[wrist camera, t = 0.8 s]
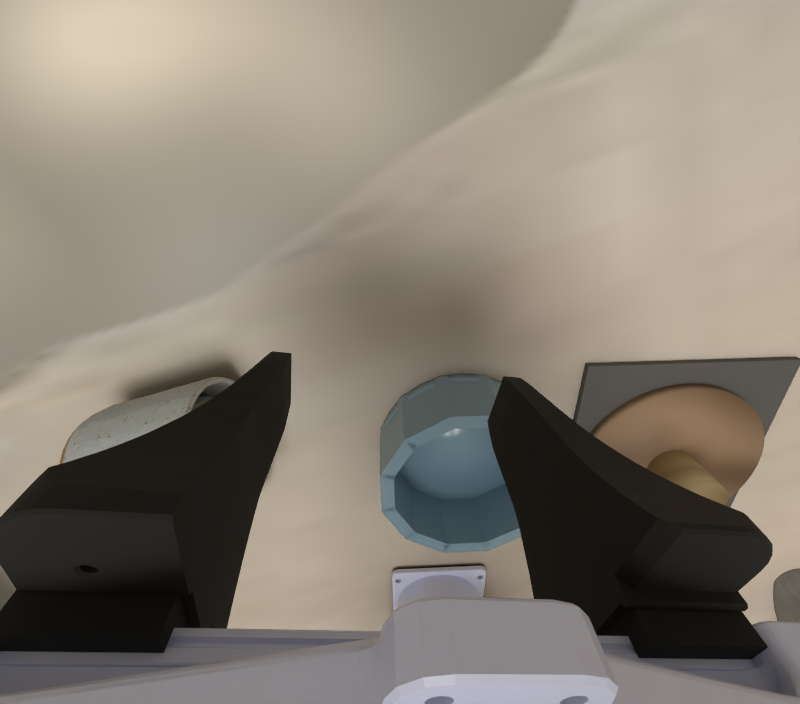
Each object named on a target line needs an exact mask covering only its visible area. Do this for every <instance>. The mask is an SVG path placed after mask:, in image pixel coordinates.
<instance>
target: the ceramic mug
mask: <svg viewBox="0 0 800 704" xmlns="http://www.w3.org/2000/svg"><path fill="white" fill-rule="evenodd" d="M234 382H235V381H233V380H231V379H228V378H225V377H211V378H207V379H204V380H200V381H197V382H194V383H190V384H186V385H183V386H179V387H175V388H172V389H168V390H165V391H162V392H158V393H155V394H152V395H148V396H145V397H141V398H137V399H132V400H129V401H125V402H122V403H119V404H115V405H113V406H110V407H108V408H106V409H104V410H102V411H100V412H98V413H96V414H94V415H92V416H91V417H89V418H88V419H87V420H85V421H84V422H83V423H81V424H80V425H79V426H78V428H77V429H76V430H75V431H74V432H73V433H72V435H71V436H70V438H69V439H68V441H67V443H66V445H65V447H64V449H63V452H62V456H61V460H60V464H62V463H66V462H69V461H72V460H75V459H78V458H81V457H84V456H88V455H91V454H94V453H97V452H100V451H103V450H105V449H108V448H111V447H114V446H116V445H119V444H122V443H124V442H127V441H129V440H132V439H134V438H137V437H139V436H141V435H144V434H146V433H148V432H151V431H153V430H155V429H157V428H159V427H161V426H163V425H165V424H167V423H169V422H171V421H173V420H176V419H178V418H180V417H181V416H183V415H185V414H187V413H189V412H190V411H192V410H194V409H196V408H198V407H199V406H201V405H203V404H204V403H206V402H207V401H209V400H211V399H212V398H213V397H215V396H216V395H218V394H219V393H220V392H222V391H223V390H225V389H226V388H228V387H229V386H230V385H232V384H233V383H234ZM261 491H262V490H261Z"/></svg>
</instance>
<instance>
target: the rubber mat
mask: <svg viewBox="0 0 800 704" xmlns="http://www.w3.org/2000/svg"><path fill="white" fill-rule="evenodd" d="M799 366H800V358H797V357H782V358H749V359H717V360H685V361H652V362H620V363H588V364H586V365H585V370H584V374H583V379H582V383H581V388H580V393H579V397H578V402H577V406H576V411H575V416H574V420H573V421H574V422H576V423H577V424H578V425H580V426H581V427H582V428H584V429H585V430H586V431H588V432H589V433H590V432H591V431H592V430H593V428H594V427H595V426H596V425H597V424H598V423H599V422H600V421H601V420H602V419H603V418H604V417H606V416H607V415H608V414H610V413H611V412H612V411H613V410H615V409H616V408H618V407H619V406H621V405H622V404H624V403H625V402H627V401H629V400H631V399H633V398H635V397H637V396H639V395H642V394H644V393H647V392H649V391H652V390H655V389H659V388H662V387H666V386H671V385H677V384H688V383H694V384H707V385H713V386H716V387H720V388H723V389H725V390H727V391H729V392H731V393H733V394H735V395H736V396H738V397H740V398H741V399H743V400H744V401H745V402H747V403H748V404H749V405H751V406H752V408H753V409H754V410H755V411H756V412H757V414H758V415H759V417H760V419H761V421H762V425H763V428H764V437H765V435H766V433H767V431H768V429H769V427H770V425H771V423H772V421H773V419H774V417H775V415H776V413H777V411H778V409H779V407H780V405H781V403H782V401H783V399H784V397H785V394H786V392H787V390H788V388H789V386H790V384H791V382H792V380H793V378H794V376H795V374H796V372H797V370H798V368H799ZM737 492H738V491H737ZM737 492H736V493H735V494H734V495H733V496H731V497H730V498H729V499H728V501H727V503H726V505H725V506H728V507H731V505H732V503H733V501H734V499H735V496H736V494H737Z"/></svg>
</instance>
